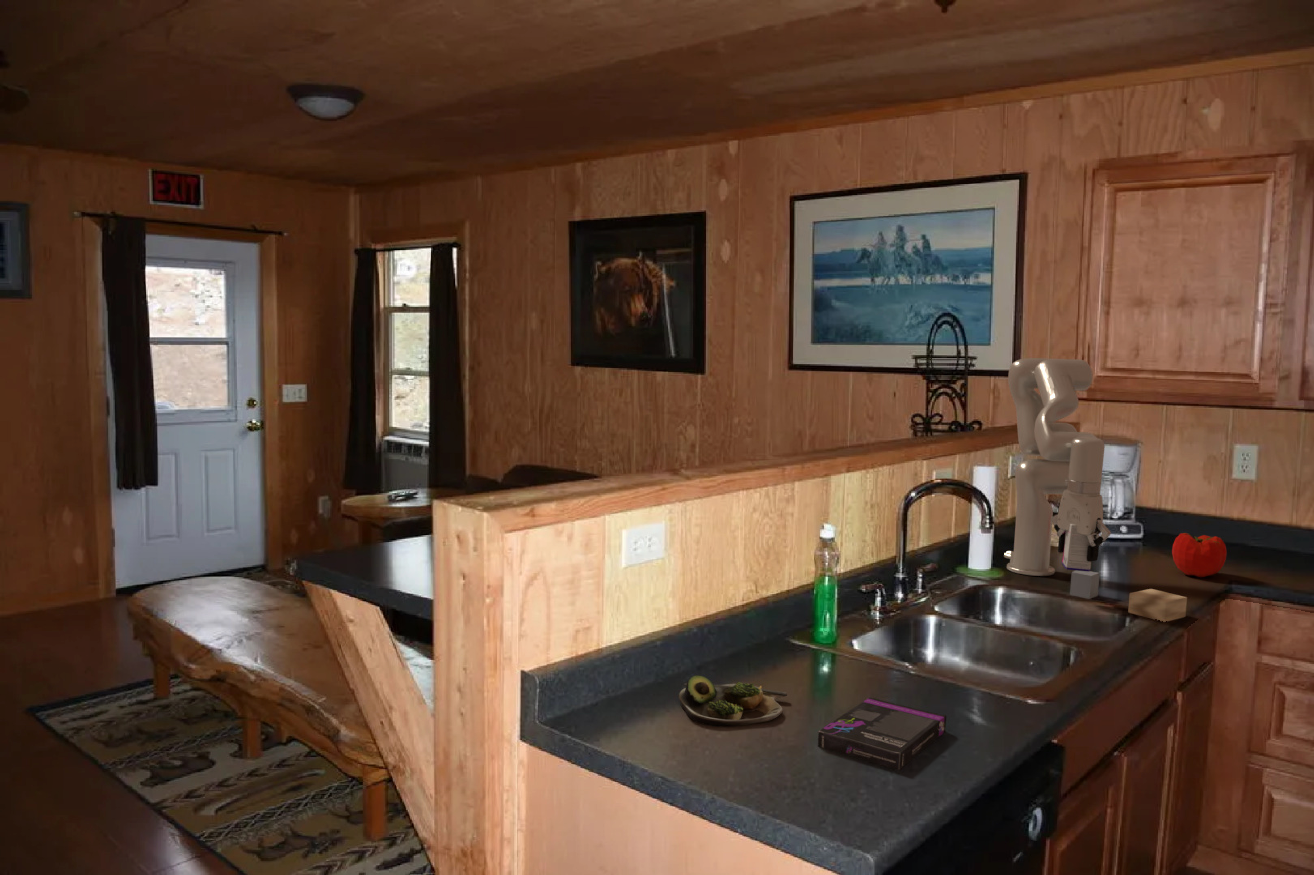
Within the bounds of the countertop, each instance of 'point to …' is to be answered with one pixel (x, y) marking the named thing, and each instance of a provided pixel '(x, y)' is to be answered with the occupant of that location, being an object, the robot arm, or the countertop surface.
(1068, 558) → the supplement box
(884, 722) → the box
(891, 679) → the countertop surface
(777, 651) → the countertop surface
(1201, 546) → the tomato
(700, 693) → the avocado toast plate
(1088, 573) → the slate block
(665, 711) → the countertop surface
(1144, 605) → the maple block
